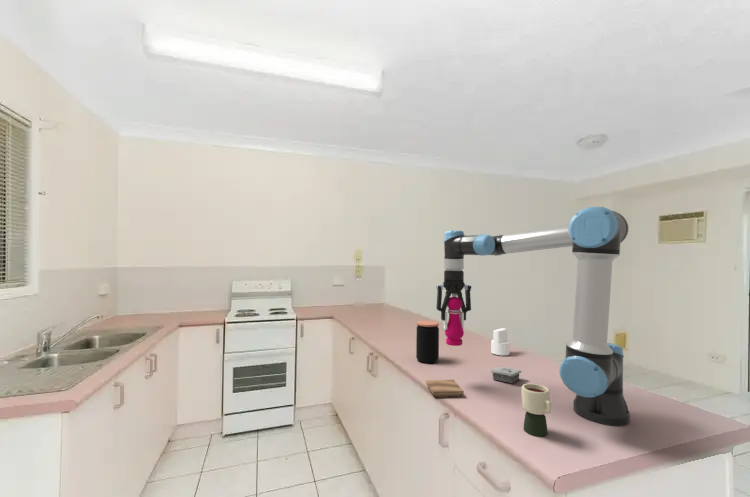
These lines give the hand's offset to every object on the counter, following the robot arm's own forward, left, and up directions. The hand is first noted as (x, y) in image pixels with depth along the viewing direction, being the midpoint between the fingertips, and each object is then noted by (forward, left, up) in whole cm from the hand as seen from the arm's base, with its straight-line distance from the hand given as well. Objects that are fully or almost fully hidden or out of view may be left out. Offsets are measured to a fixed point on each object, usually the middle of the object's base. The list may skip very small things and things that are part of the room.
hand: (453, 328), depth 135 cm
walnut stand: (-7, +6, -22) cm, 24 cm away
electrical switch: (0, -26, -22) cm, 34 cm away
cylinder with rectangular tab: (+41, -38, -22) cm, 60 cm away
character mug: (-37, -12, -22) cm, 45 cm away
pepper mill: (0, 0, -6) cm, 6 cm away
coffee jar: (+31, +3, -22) cm, 38 cm away
